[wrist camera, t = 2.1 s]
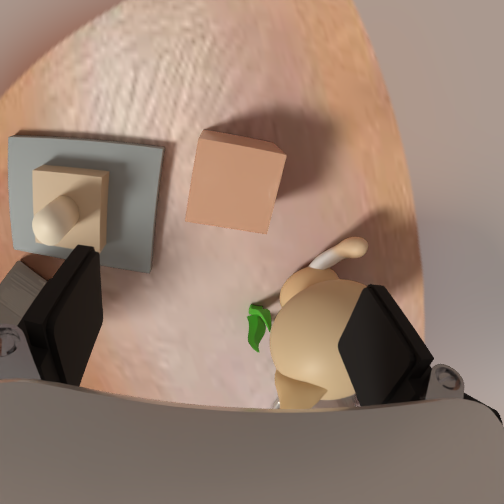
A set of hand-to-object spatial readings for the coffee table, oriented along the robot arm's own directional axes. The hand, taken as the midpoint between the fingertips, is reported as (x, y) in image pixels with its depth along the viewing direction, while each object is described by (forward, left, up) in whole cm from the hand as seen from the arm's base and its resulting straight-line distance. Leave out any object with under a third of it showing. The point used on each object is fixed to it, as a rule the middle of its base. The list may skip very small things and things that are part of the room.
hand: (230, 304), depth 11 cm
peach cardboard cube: (-1, 0, -19) cm, 19 cm away
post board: (+13, +5, -19) cm, 23 cm away
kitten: (-11, +11, -19) cm, 24 cm away
